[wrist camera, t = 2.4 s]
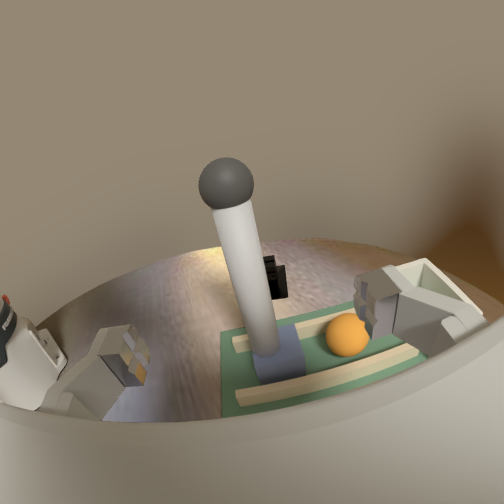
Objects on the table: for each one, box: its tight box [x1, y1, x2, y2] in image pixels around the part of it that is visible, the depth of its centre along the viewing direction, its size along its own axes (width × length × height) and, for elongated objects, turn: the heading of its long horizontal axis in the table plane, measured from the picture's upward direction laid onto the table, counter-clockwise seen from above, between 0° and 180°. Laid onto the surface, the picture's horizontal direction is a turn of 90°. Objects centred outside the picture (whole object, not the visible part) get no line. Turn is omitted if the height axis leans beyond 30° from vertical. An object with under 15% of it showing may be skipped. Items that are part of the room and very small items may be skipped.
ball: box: [326, 313, 369, 357], centre depth 28 cm, size 5×5×5 cm
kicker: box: [199, 158, 307, 385], centre depth 24 cm, size 6×5×22 cm
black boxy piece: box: [263, 255, 288, 300], centre depth 44 cm, size 12×7×5 cm, turn 178°
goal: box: [232, 258, 483, 407], centre depth 28 cm, size 28×13×5 cm, turn 95°
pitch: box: [221, 301, 429, 418], centre depth 29 cm, size 31×16×1 cm, turn 95°
